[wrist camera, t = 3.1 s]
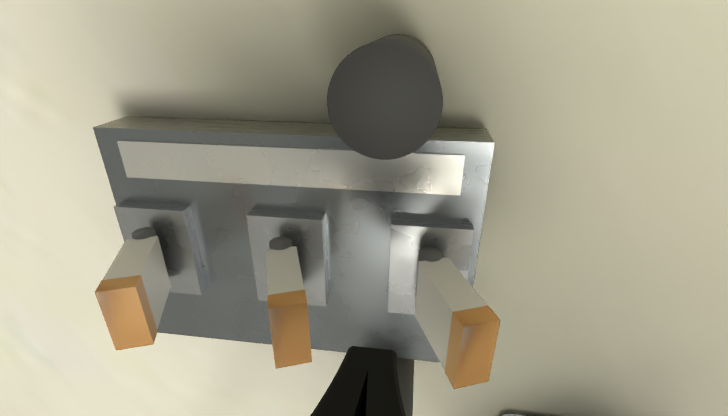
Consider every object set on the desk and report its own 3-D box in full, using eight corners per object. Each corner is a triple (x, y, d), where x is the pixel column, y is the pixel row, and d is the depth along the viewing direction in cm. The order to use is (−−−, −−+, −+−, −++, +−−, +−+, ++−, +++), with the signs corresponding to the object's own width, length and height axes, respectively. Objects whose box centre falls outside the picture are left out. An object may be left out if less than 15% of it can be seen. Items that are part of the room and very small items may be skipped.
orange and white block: (161, 225, 17) (134, 284, 13) (175, 278, 18) (153, 346, 14) (130, 228, 17) (93, 289, 13) (146, 282, 18) (116, 352, 14)
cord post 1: (439, 34, 15) (448, 42, 9) (432, 114, 16) (437, 162, 11) (360, 34, 15) (325, 41, 10) (360, 112, 16) (329, 157, 11)
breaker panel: (486, 128, 16) (497, 147, 14) (457, 334, 21) (462, 374, 18) (126, 116, 18) (81, 131, 16) (175, 307, 23) (147, 340, 20)
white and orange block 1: (294, 234, 16) (307, 300, 12) (299, 289, 18) (312, 363, 14) (264, 238, 16) (267, 306, 12) (271, 293, 17) (276, 370, 13)
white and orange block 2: (440, 245, 16) (500, 317, 12) (435, 301, 17) (487, 383, 13) (411, 249, 15) (463, 324, 11) (407, 305, 16) (453, 391, 13)
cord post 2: (415, 337, 21) (413, 443, 16) (412, 377, 22) (408, 488, 17) (361, 331, 22) (340, 434, 16) (360, 371, 23) (341, 478, 17)
